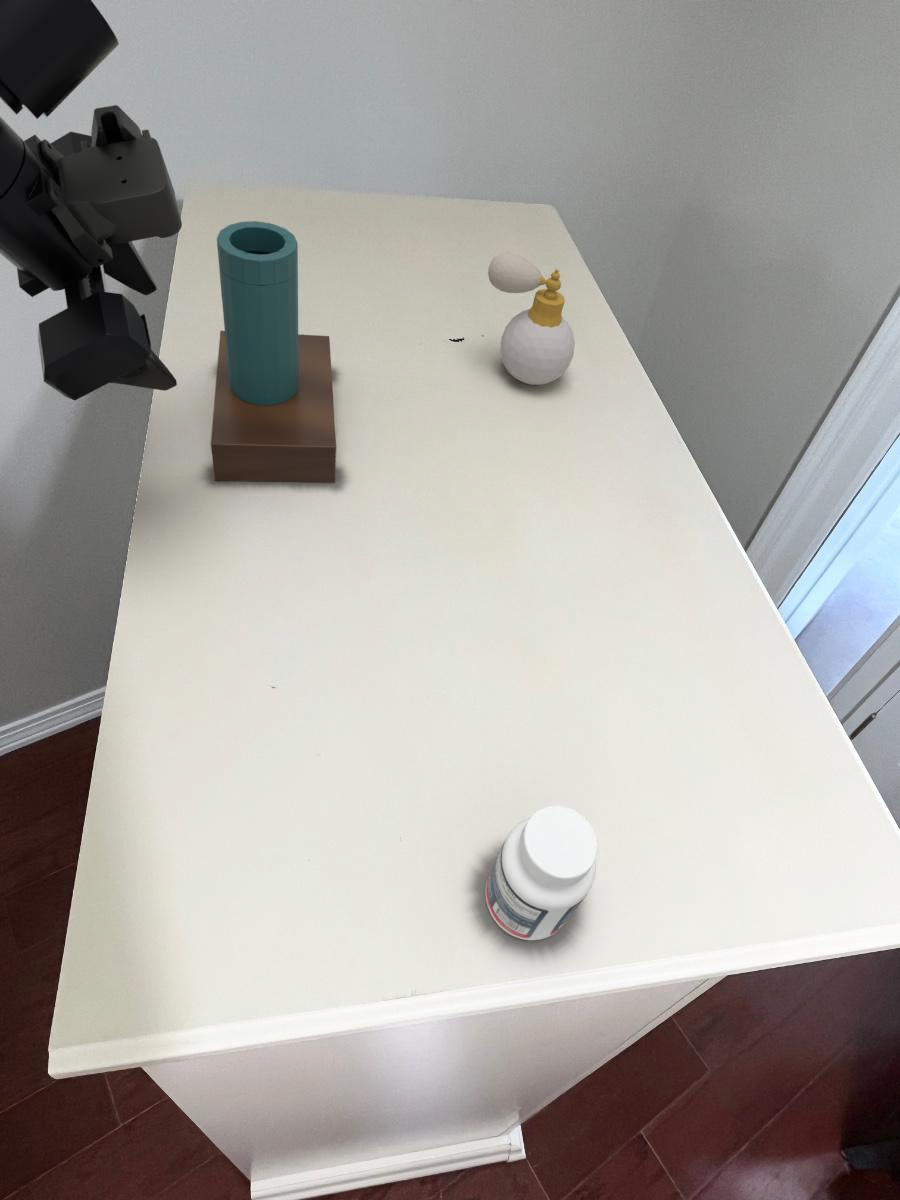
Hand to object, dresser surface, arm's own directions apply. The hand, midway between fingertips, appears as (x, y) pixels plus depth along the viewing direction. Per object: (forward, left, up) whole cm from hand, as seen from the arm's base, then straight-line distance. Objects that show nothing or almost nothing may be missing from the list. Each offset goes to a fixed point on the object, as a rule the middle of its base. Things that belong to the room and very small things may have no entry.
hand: (161, 337), depth 58 cm
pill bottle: (+35, -28, -12) cm, 47 cm away
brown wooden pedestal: (+5, +8, -12) cm, 15 cm away
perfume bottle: (+25, +25, -12) cm, 38 cm away
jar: (+5, +8, -8) cm, 12 cm away
